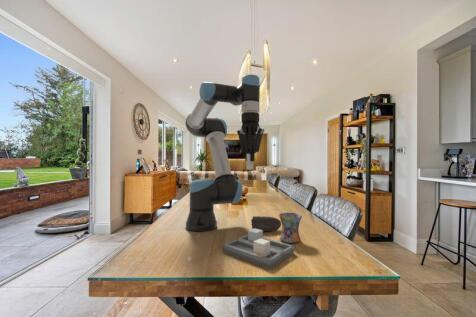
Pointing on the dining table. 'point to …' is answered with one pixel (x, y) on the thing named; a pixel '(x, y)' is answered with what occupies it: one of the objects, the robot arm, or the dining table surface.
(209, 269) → the dining table surface
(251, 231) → the pale grey cube
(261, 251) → the off-white cube
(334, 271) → the dining table surface
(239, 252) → the gray divided tray
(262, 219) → the perforated stone tool
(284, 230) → the mug
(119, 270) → the dining table surface
